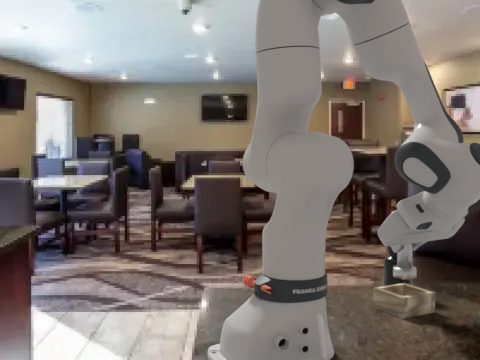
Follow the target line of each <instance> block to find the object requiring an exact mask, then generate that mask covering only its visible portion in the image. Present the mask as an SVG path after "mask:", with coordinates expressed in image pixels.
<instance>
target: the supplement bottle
mask: <svg viewBox="0 0 480 360" xmlns="http://www.w3.org/2000/svg"><path fill="white" fill-rule="evenodd" d="M387 247H388V250H387V253H388V255H386V256H385V258H384V260H383V285H382V286H387V285H394V284H400V283H406V284H409V285H413V279H400V278H396V277H394V276H393V266H396V265H397V253H394V252H393V250H392V248H391V246H387Z"/></svg>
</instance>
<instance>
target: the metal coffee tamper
mask: <svg viewBox="0 0 480 360" xmlns="http://www.w3.org/2000/svg"><path fill="white" fill-rule="evenodd" d="M402 246H403V250H401V252H397V265H396V266H393V276H394V277H396V278H400V279H412V280H414V279H416V278H417V272H418V271H417V267H416V266H413V250H412V243H409V244H404V245H402Z"/></svg>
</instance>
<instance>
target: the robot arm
mask: <svg viewBox="0 0 480 360" xmlns="http://www.w3.org/2000/svg"><path fill="white" fill-rule="evenodd" d="M333 14H337V15H338V16H339V17H340V18H341V19H342V21H343V22H344V23H345V25H346V28H347V29H346V30H347V33H348V36H349V39H350V44H351V45H352V48H353V51H354V54H355V56H356V59H357V61H358V64H360V66H361V68H362V70H363V71H364V72H365V74H366V75H368V76H370V77H371V78H373V79H374V80H378V81H382V82H383V81H386V82H391V83H393V84H395V85H396V86H397V87H398V88H399V89H400V91H401V92H402V95H403V97H404V98H405V103H407V106H408V108H409V111H410V113H411V116H412V117H413V120H414V127H413V132H412V133H411V135H409V137H408V138H406V140H404V142H403V143H402V144H401V145H400V146H399V147H398V148H397V150H396V151H395V154H394V158H393V159H394V166H395V169H396V172H398V174H399V176H400V177H402V178H403V180H404V181H406V182H408V183H409V184H411V185H413V186H415V187H417V188H418V189H420V190H422V191H421V192H418V193H417V194H415V195H413V196H410V197H407V198H403V199H401V200H400V201H398V202H397V203H396V206H395V207H396V210H394V211H392V212H391V213H390V214H389V215H388V216H387V217H386V218H385V220H384V221H383V222H382V224H381V225H380V226H379V227H378V229H377V236H378V238H379V240H380V242H381V243H382V245H383V246H384V247H389V246H391V248H392V250H393V252H394V253H397V252H401V250H403V246H402V245H404V244H409V243H412V251H416V250H417V249H418V248H419V247H421V246H423V245H424V244H426V243H428V242H431V241H432V242H433V241H439V240H446V239H449V238H452V237H453V236H454V235H456V234H457V232H458V231H459V229H461V227H462V226H463V224H464V223H465V221H466V219H465V217H466V216H467V215H468V214H469V207H471V206H472V205H474V204H476V203H478V202H479V200H480V143H478V142H470V143H466V142H465V143H464V135H463V132H462V129H461V128H460V126H459V124H458V123H457V122H456V121H455V119H453V117H451V115H449V113H448V112H447V110H446V108H445V107H444V104H443V102H442V99H441V97H440V94H439V92H438V90H437V88H436V87H437V86H436V84H435V82H434V80H433V78H432V77H433V76H432V75H431V73H430V70H429V68H428V66H427V63H426V62H425V60H424V58H423V55H422V53H421V51H420V47H419V46H418V42H417V40H416V37H415V34H414V31H413V27H412V25H411V24H412V23H411V22H410V19H409V16H408V14H407V10H406V8H405V6H404V3H403V1H402V0H259V1H258V5H257V12H256V20H255V40H254V41H255V44H254V45H255V60H256V61H255V63H256V66H255V67H256V84H257V85H256V87H257V88H256V90H257V103H256V109H255V110H256V111H255V117H254V123H253V130H252V136H251V140H250V142H249V145H248V146H247V148H246V149H245V150H244V151H245V152H244V154H243V157H242V170H243V172H244V176H246V178H247V179H248V181H249V182H250V183H252V184H253V185H255V186H256V187H258V188H260V189H261V190H263V191H265V192H268V193H275V194H276V196H275V197H276V198H275V203H274V206H273V211H272V214H271V217H270V219H269V221H268V222H267V223H266V224H265V225H264V226H263V229H262V235H261V236H262V237H261V238H262V241H261V242H262V245H261V246H262V253H261V254H262V258H261V259H262V260H261V261H262V271H261V272H260V274H259V276H258V277H257V278H256V277H254V276H252V275H249V274H247V275H244V277H243V278H242V284H243V285H244V286H245V287H247V288H249V289H253V294H252V295H251V296H250V297H248V299H247V300H246V301H245V302H244V303H242V305H240V306H239V307H238V308H237V309H236V310H235V311H234V312H232V313H231V314H230V315H229V316H228V317H226V319H225V320H224V321H223V324H222V329H221V331H220V332H221V333H220V340H219V343H216V344H213V345H210V346H209V347H208V349H207V359H208V360H331V359H333V357H334V355H335V350H334V347H333V344H332V343H333V342H332V340H331V335H330V329H329V324H328V317H327V316H328V314H327V304H326V303H327V302H326V301H327V298H328V297H327V296H328V291H329V290H328V273H326V239H327V228H328V223H329V219H330V216H331V213H332V210H333V207H334V204H335V202H336V200H337V197H338V196H339V195H340V193H342V191H343V190H344V189H346V188H347V186H348V185H349V184H350V182H351V180H352V177H353V173H354V168H355V166H354V163H355V162H354V156H353V153H352V151H351V149H350V147H349V146H348V145H347V143H346V141H344V140H342V139H341V138H340V137H337V136H334V135H331V134H328V133H324V132H321V131H320V132H319V131H309V125H310V120H311V116H312V114H313V111H314V108H315V107H316V106H317V104H319V101H320V99H321V97H322V92H323V90H322V89H323V88H322V68H321V67H322V65H321V64H322V63H321V49H320V48H321V47H320V45H321V42H320V35H319V34H320V33H319V25H320V20H321V17H323V16H326V15H333Z"/></svg>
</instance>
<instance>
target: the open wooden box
mask: <svg viewBox="0 0 480 360" xmlns="http://www.w3.org/2000/svg"><path fill="white" fill-rule="evenodd" d="M372 308H374V309H376V310H379V311H381V312H384V313H387V314H389V315H392V316H395V317H398V318H400V319H402V320H404V319H409V318H414V317H415V318H416V317H420V316H424V315H430V314H434V313H435V312H436V292H435V291H432V290H428V289H425V288H422V287H420V286H419V287H418V286H415V285H413V284H412V285H409V284H406V283H400V284H394V285H387V286H383V285H382V286H376V287H372Z"/></svg>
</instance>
